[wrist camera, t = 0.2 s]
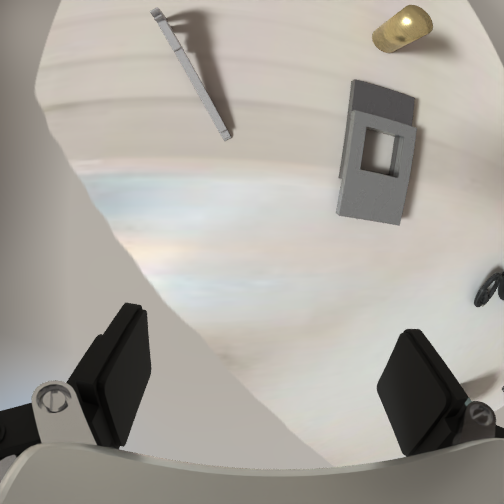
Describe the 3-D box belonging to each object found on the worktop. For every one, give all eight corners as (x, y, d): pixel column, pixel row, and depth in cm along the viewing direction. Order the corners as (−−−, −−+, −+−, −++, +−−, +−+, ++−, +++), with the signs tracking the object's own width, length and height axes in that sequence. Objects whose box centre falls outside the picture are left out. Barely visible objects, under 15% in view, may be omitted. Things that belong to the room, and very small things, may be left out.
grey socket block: (351, 81, 33) (358, 77, 31) (409, 98, 34) (419, 96, 31) (332, 210, 40) (338, 215, 37) (390, 219, 40) (399, 225, 37)
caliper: (159, 22, 30) (145, 5, 24) (166, 18, 30) (153, 0, 24) (224, 141, 37) (219, 141, 31) (232, 137, 37) (228, 136, 31)
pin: (372, 25, 30) (403, 0, 21) (397, 33, 30) (432, 12, 21) (371, 48, 31) (403, 26, 22) (397, 56, 32) (433, 39, 22)
